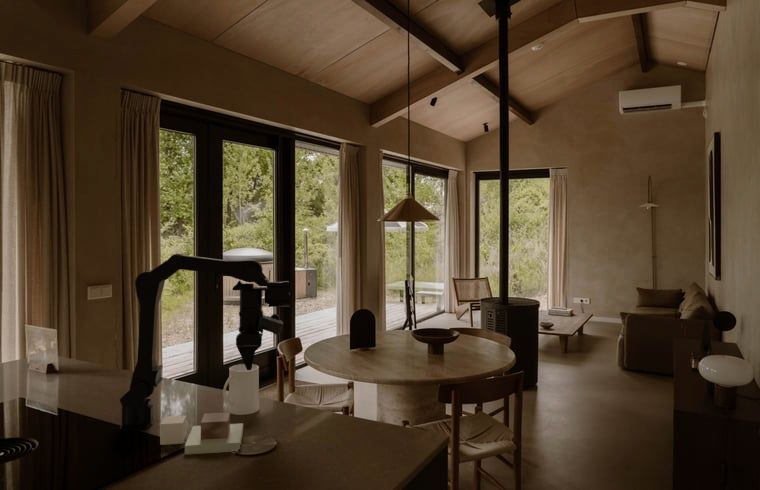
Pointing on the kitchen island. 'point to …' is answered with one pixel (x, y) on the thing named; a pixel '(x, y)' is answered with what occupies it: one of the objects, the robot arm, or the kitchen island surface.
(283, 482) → the kitchen island surface
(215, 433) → the walnut block
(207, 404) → the kitchen island surface
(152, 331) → the robot arm
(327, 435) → the kitchen island surface
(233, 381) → the mug
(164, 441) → the ceramic cube
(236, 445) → the base board
